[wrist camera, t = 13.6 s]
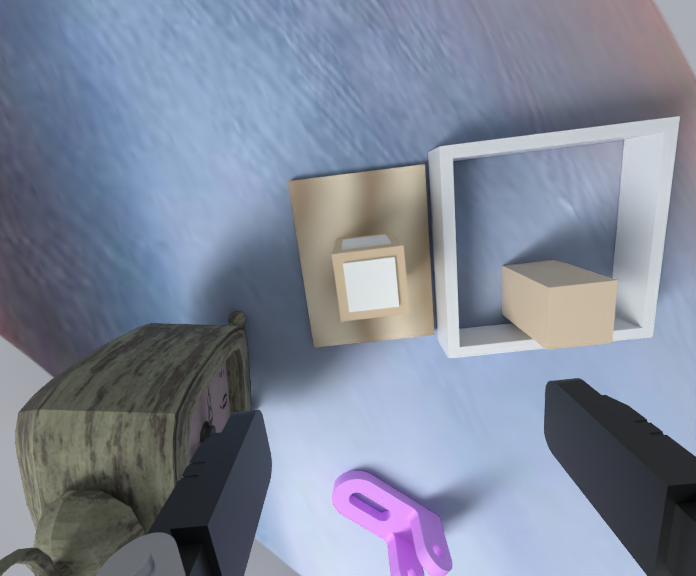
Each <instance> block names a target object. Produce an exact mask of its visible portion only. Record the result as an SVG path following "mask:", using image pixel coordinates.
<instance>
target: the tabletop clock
mask: <svg viewBox="0 0 696 576" xmlns="http://www.w3.org/2000/svg"><path fill="white" fill-rule="evenodd" d="M245 320H246V318H245V315H244V314H243V313H242V312H238V311H235V312H233V313H232V314H230V315H229V318H228V321H229V325H227V326H225V325H192V324H159V323H151V324H147V325H144V326H141V327H138V328H136V329H134V330H132V331H130V332H128V333H126V334H124V335H122V336H120V337H118V338H116V339H114V340H112V341H111V342H109V343H107V344H105V345H104V346H102V347H100V348H98V349H97V350H95V351H93V352H91V353H90V354H88V355H86V356H85V357H84V358H82V359H81V360H79V361H78V362H76V363H75V364H73V365H72V366H71V367H69V368H68V369H66V370H65V371H63V372H62V373H60V374H59V375H58V376H56V377H55V378H53V379H52V380H51V381H49V382H48V383H47V384H46V385H45V386H43V387H42V388H41V389H40V390H39V391H38V392H37V393H36V394H34V396H32V398H31V399H30V400H29V401H28V402H27V403H26V405H25V406H24V407H23V408H22V409H21V410H20V412H19V414H18V419H17V425H16V431H15V434H16V435H15V445H16V453H17V458H18V463H19V468H20V473H21V478H22V483H23V488H24V494H25V499H26V503H27V506H28V509H29V511H30V515H31V517H32V520H33V523H34V526H35V529H36V535H35V541H34V548H26V549H18V550H16V551H14V552H13V553H11V554H9V555H8V556H6V557H4V558H3V559H1V560H0V576H1V575H2V574H3V572H5V571H6V570H7V569H8V568H9V567H10V566H12V565H14V564H15V563H19V564H25V565H26V566H27V567H28V568H29V569H30V570H31V571H32V572H33V573H34V574H35V576H96V574H97V573H98V571H99V570H100V569H101V567H102V566H103V565H104V563H105V562H106V561H107V560H108V559H109V558H110V557H111V556H112V555H113V554H114V553H116V552H117V551H118V550H119V549H121V548H122V547H123V546H125V545H126V544H128V543H129V542H131V541H133V540H135V539H137V538H139V537H141V536H144V535H146V534H147V533H148V531H149V529H150V528H151V526H152V524H153V523H154V521H155V519H156V517H157V516H158V514H159V512H160V511H161V509H162V507H163V506H164V504H165V502H166V501H167V499H168V497H169V496H170V494H171V492H172V490H173V489H174V487H175V485H176V484H177V482H178V480H181V475H182V474H183V472H184V470H185V469H186V467H187V466H189V462H190V460H191V458H192V457H193V455H194V453H195V452H196V450H197V448H198V447H199V446H200V445H201V444H202V443H203V442H204V441H205V440H207V439H208V438H209V437H210V436H211V435H212V434H213V433H220V432H222V430H223V428H224V426H225V425H226V423H227V421H228V419H229V417H230V415H231V414H232V413H233V412H243V411H251V381H250V367H249V354H248V343H247V336H246V332H245V328H244V326H242V325H244V323H245Z"/></svg>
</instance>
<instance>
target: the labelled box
mask: <svg viewBox="0 0 696 576" xmlns="http://www.w3.org/2000/svg"><path fill="white" fill-rule="evenodd" d="M332 261H333V268H334V275H335V282H336V290H337V297H338V304H339V311H340V318H341V322H342V321H351V320H359V319H368V318H376V317H385V316H394V315H402V314H409V303H408V291H407V279H406V267H405V255H404V245H403V244H402V243H401V242H400V241H399V240H398V239H396V238H395V237H394V236H393V235H392V234H391V233H383V234H375V235H367V236H359V237H351V238H343V239H336V241H335V244H334V248H333V251H332Z"/></svg>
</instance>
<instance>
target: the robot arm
mask: <svg viewBox="0 0 696 576" xmlns="http://www.w3.org/2000/svg"><path fill="white" fill-rule="evenodd" d="M544 434H545V438H546V442H547V444H548V447H549V449H550V451H551V452H552V454H553V455H554V457H555V458H556V459H557V460H558V462H559V463H560V464H561V466H562V467H563V468H564V469H565V471H566V472H567V473H568V474H569V476H570V477H571V478H572V480H573V481H574V482H575V483H576V485H577V486H578V487H579V489H580V490H581V491H582V492H583V494H584V495H585V496H586V498H587V499H588V500H589V501H590V503H591V504H592V505H593V507H594V508H595V509H596V510H597V512H598V513H599V514H600V516H601V517H602V518H603V519H604V521H605V522H606V523H607V525H608V526H609V527H610V528H611V530H612V531H613V532H614V534H615V535H616V536H617V537H618V539H619V540H620V541H621V543H622V544H623V545H624V546H625V548H626V549H627V550H628V552H629V553H630V554H631V555H632V557H633V558H634V559H635V561H636V562H637V563H638V564H639V566H640V567H641V568H642V570H643V571H644V572H645V573H646V575H647V576H696V457H695V456H694V455H693V454H691V453H690V452H689V451H687V450H686V449H685V448H683V447H682V446H681V445H679V444H678V443H677V442H675V441H674V440H673V439H672V438H670V437H669V436H668V435H664V434H663V432H662V431H661V430H660V429H658V428H657V427H656V426H654V425H653V424H652V423H648V422H647V419H645V418H644V417H643V416H641V415H640V414H639V413H637V412H636V411H635V410H633V409H632V408H631V407H630V406H628V405H626V404H624V403H622V402H619V401H617V400H615V399H613V398H611V397H609V396H607V395H601V394H599V393H598V392H597V391H596V390H594V389H593V388H592V387H591V386H589V385H588V384H587V383H586V382H584V381H583V380H582V379H579V378H575V379H565V380H555V381H549V382H548V383H547V385H546V390H545V416H544ZM271 471H272V459H271V452H270V448H269V443H268V438H267V433H266V429H265V424H264V419H263V415H262V413H261V411H260V410H252V411H243V412H233V413H232V414H231V415H230V417H229V419H228V421H227V423H226V425H225V426H224V428H223V430H222V432H220V433H213V434H212V435H211V436H210V437H209V438H208V439H207V440H205V441H204V442H203V443H202V444H201V445H200V446H199V447H198V448H197V450H196V452H195V453H194V455H193V457H192V458H191V460H190V462H189V466H187V467H186V469H185V470H184V472H183V474H182V475H181V480H178V482H177V484H176V485H175V487H174V489H173V490H172V492H171V494H170V496H169V497H168V499H167V501H166V502H165V504H164V506H163V507H162V509H161V511H160V512H159V514H158V516H157V517H156V519H155V521H154V523H153V524H152V526H151V528H150V529H149V531H148V533H147V534H146V535H144V536H141V537H139V538H137V539H135V540H133V541H131V542H129V543H128V544H126V545H125V546H123V547H122V548H121V549H119V550H118V551H117V552H116V553H114V554H113V555H112V556H111V557H110V558H109V559H108V560H107V561H106V562H105V563H104V565H103V566H102V567H101V569H100V570H99V571H98V573H97V574H96V576H244V573H245V570H246V566H247V563H248V559H249V555H250V551H251V548H252V544H253V541H254V537H255V533H256V530H257V526H258V523H259V519H260V515H261V512H262V508H263V504H264V501H265V497H266V493H267V490H268V486H269V483H270V479H271Z"/></svg>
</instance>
